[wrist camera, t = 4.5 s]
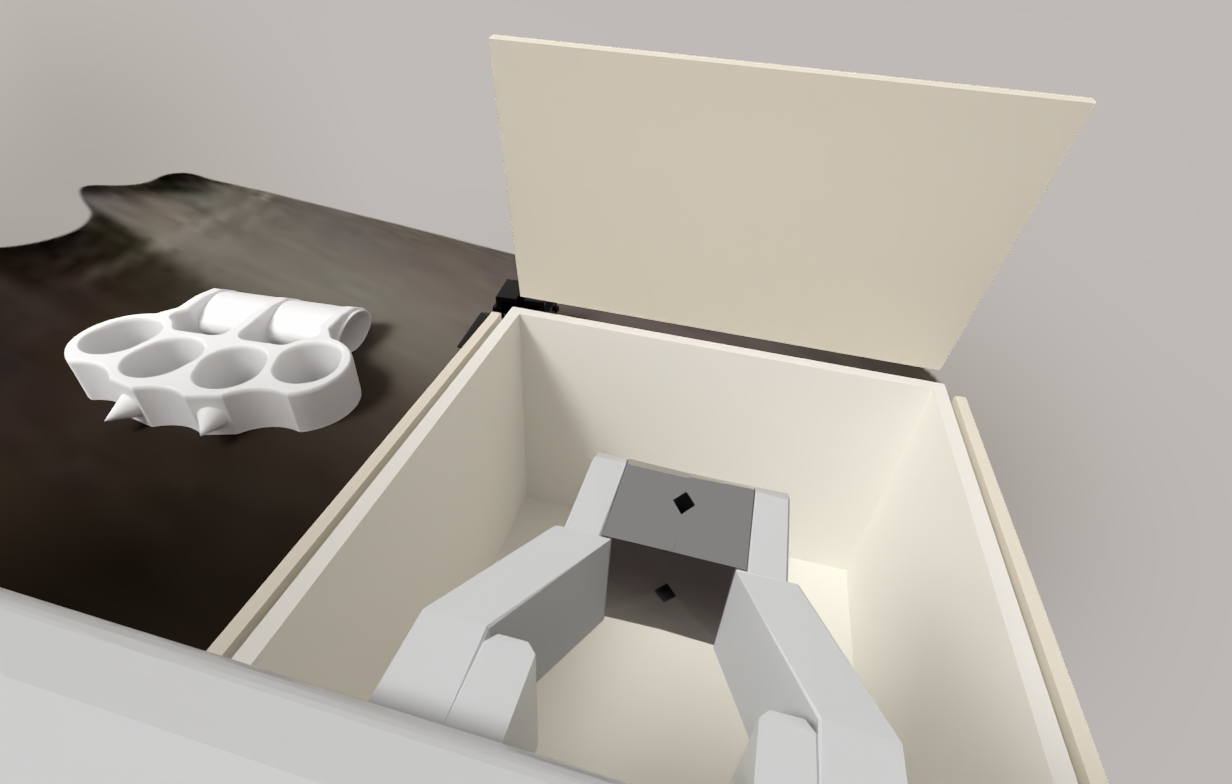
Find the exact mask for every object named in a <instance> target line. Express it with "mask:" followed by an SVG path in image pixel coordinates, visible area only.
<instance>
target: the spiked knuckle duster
mask: <svg viewBox="0 0 1232 784" xmlns="http://www.w3.org/2000/svg"><path fill="white" fill-rule="evenodd" d="M370 326H371V315H370V313H369V311H368V310H365V308H359V307H349V306H346V307H342V306H335V305H328V304H321V303H314V302H307V301H300V300H299V299H292V298H283V297H279V298H278V297H271V296H263V295H256V294H249V293H241V292H236V291H233V290H225V289H216V288H214V289H211V290H209V291H206V292H204V293H201V294H199V295H196V296H195V297H193V298H192V299H190V300H189V301H187V302H186V303H184V304H183V305H181V306H180V307H178V308H174V309H171V310H167V311H164V312H160V313H155V314H136V315H129V316H124V317H119V318H115V319H111V320H108V321H105V322H102V323H99V324H97V325H94V326H92V327H90V328H88V329H86V330H84V331H83V332H81V333H79V334H78V335H76V336H75V337H74V338H73V339H72V340H71V341H70V342H69V343H68V344H67V346H66V348H65V352H64V355H65V359H66V361H67V363H68V364H69V366H70V368H71V369H72V371H73V372H74V374H75V376H76V377H77V379H78V381H79V382H80V384H81V386H82V387H83V389H84V391H85V392H86V394H87V396H88V397H89V398H90V399H91V400H110V401H115V402H116V404H115V405H114V407H113V408H112V410H111V411H110V413H109V414H108V416H107V417H106V419H105V421H110V420H118V419H126V418H133V419H135V420H137V421H139V422H142V423H144V424H146V425H148V426H151V427H156V426H164V425H180V426H186V427H190V428H192V429H195V430H197V431H198V432H199V433H200V436H203V435H222V434H239V433H242V432H245V431H249V430H253V429H257V428H264V427H284V428H290V429H293V430H296V431H298V432H306V431H311V430H316V429H319V428H323V427H326V426H328V425H331V424H333V423H335V422H337V421H339V420H341V419H342V418H344V417H345V416H347V415H348V414H349V413H350V412H351V411H352V410H353V409H354V408H355V407H356V406H357V404H358V403H359V401H360V398H361V387H360V383H359V379H358V375H357V371H356V367H355V363H354V359H353V356H352V353H351V352H353V351H355V350H356V349H357V348H358V347H359V346H360V345H361V344H362V343H363V341H364V340H365V338H366V336H367V334H368V331H369V329H370ZM318 379H319V380H318ZM314 380H316V381H314ZM311 381H313V382H311Z"/></svg>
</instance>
